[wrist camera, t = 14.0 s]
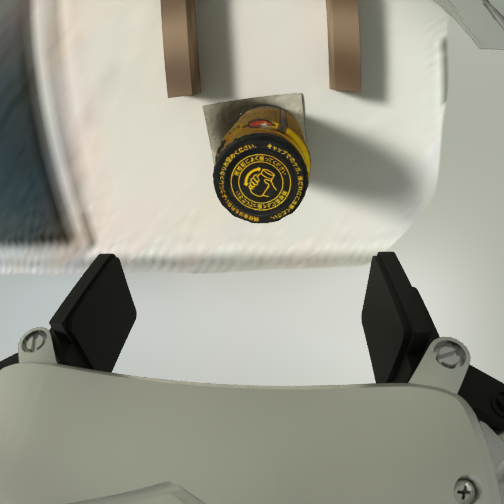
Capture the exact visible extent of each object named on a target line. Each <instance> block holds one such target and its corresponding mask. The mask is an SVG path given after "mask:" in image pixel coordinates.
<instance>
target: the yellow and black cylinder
mask: <svg viewBox="0 0 504 504" xmlns="http://www.w3.org/2000/svg"><path fill="white" fill-rule="evenodd" d="M203 110H204V115H205V120H206V125H207V130H208V135H209V140H210V146H211V150H212V157H213V162H214V173H213V178H214V187H215V191H216V194H217V197H218V199H219V200H220V202H221V204H222V205H223V206H224V207H225V208H226V209H227V210H228V211H229V212H230V213H231V214H232V215H233V216H235V217H238V218H240V219H243V220H246V221H249V222H251V223H269V222H275V221H279V220H281V219H282V218H283V217H285V216H287V215H289V214H291V213H293V212H294V211H295V210H296V209H297V207H298V206H299V205H300V203H301V201H302V199H303V198H304V196H305V193H306V190H307V187H308V183H309V180H308V179H309V175H310V165H311V160H310V153H309V151H308V148H307V143H306V134H305V124H304V114H303V106H302V97H301V93H295V94H283V95H274V96H264V97H256V98H249V99H242V100H235V101H228V102H222V103H216V104H210V105H204V106H203ZM240 113H241V115H240Z"/></svg>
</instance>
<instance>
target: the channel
mask: <svg viewBox="0 0 504 504" xmlns="http://www.w3.org/2000/svg"><path fill="white" fill-rule="evenodd" d="M326 9H327V26H328V48H329V84H330V89H333V90H339V91H356V92H361V73H360V36H359V16H358V2H357V0H326ZM161 16H162V32H163V46H164V59H165V71H166V82H167V92H168V98H172V97H180V96H188V95H194V94H197V93H201V88H200V76H199V63H198V49H197V34H196V19H195V1H194V0H161Z"/></svg>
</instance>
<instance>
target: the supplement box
mask: <svg viewBox="0 0 504 504" xmlns="http://www.w3.org/2000/svg"><path fill="white" fill-rule="evenodd" d="M435 1H436V2H437V3H438V4H439V5H440V6H442V7H443V8H444V9H445V10H446V11H447V12H448V13H449V14H450V15H451V16H452V17H453V18H454V19H455V20H456V22H457V23H458V24H459V25H460V26H461V27H462V28H463V29H464V30H465V32H466V33H467V34H468V35H469V36H470V37H471V38H472V40H473V41H474V42H475V44H476V45H477V46H478V47H479V48H480V49H501V50H504V0H435Z"/></svg>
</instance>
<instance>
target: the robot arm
mask: <svg viewBox="0 0 504 504" xmlns="http://www.w3.org/2000/svg"><path fill="white" fill-rule="evenodd" d="M135 320H136V309H135V306H134V303H133V300H132V297H131V294H130V291H129V288H128V285H127V282H126V279H125V275H124V272H123V269H122V266H121V263H120V260H119V258H117V257H116V256H115V255H114V254H99V255H98V256H97V258H96V259H95V260H94V261H93V263H92V264H91V265H90V267H89V268H88V269H87V270H86V272H85V273H84V274H83V276H82V277H81V278H80V280H79V281H78V282H77V284H76V285H75V286H74V288H73V289H72V290H71V292H70V293H69V295H68V296H67V297H66V299H65V300H64V302H63V303H62V304H61V306H60V307H59V309H58V310H57V312H56V313H55V314H54V316H53V317H52V319H51V320H50V322H49V323H50V325H51V329H50V330H48V329H46V328H43V327H37V328H34V329H31V330H30V331H28V332H27V333H26V334H24V335H23V336H22V338H21V339H20V341H19V343H18V353H16V354H14V355H13V356H10V357H8V358H6V359H4V360H3V361H1V362H0V504H504V384H503V383H502V382H500V381H498V380H496V379H494V378H493V377H491V376H489V375H487V374H486V373H484V372H482V371H480V370H478V369H477V368H475V367H473V366H471V365H469V364H470V353H469V351H468V349H467V348H466V346H465V345H463V343H462V342H460V341H458V340H457V339H454V338H451V337H439V334H438V332H437V330H436V328H435V326H434V323H433V321H432V319H431V317H430V315H429V312H428V310H427V308H426V306H425V304H424V302H423V300H422V298H421V296H420V294H419V292H418V290H417V289H416V288H415V287H412V286H411V284H410V282H409V280H408V278H407V276H406V274H405V272H404V270H403V268H402V266H401V264H400V262H399V260H398V258H397V256H396V254H395V253H394V252H378V254H377V256H373V257H372V262H371V268H370V274H369V279H368V284H367V290H366V295H365V300H364V305H363V310H362V325H363V329H364V333H365V337H366V341H367V345H368V349H369V354H370V358H371V362H372V367H373V371H374V376H375V381H376V383H375V384H353V385H323V386H254V385H228V384H227V385H226V384H210V383H197V382H183V381H174V380H164V379H154V378H146V377H139V376H131V375H124V374H117V373H111V372H112V370H113V368H114V366H115V363H116V361H117V359H118V357H119V354H120V352H121V350H122V348H123V346H124V343H125V341H126V339H127V337H128V335H129V333H130V330H131V328H132V326H133V324H134V322H135Z"/></svg>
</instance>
